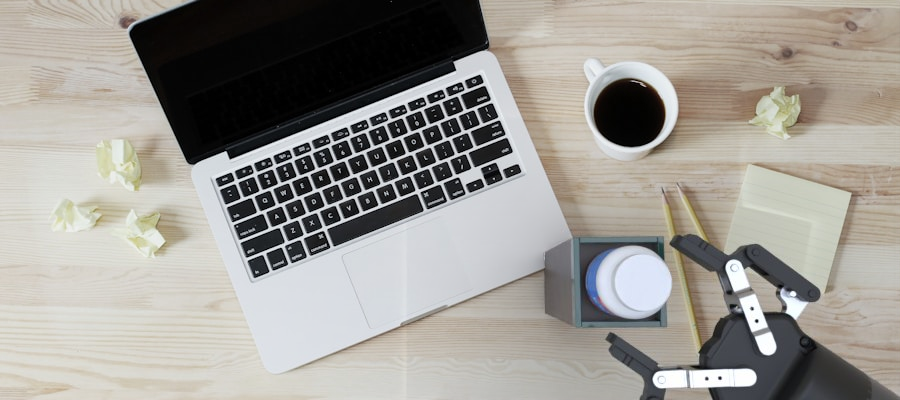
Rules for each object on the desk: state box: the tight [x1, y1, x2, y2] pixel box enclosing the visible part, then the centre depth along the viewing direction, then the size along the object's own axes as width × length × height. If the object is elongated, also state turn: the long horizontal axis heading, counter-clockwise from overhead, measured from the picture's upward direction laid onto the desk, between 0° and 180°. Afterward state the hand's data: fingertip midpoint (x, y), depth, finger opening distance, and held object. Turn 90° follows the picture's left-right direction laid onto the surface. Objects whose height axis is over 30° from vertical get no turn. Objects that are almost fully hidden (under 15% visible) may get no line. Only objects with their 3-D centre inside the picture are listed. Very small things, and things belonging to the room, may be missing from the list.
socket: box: [570, 235, 668, 329], centre depth 60 cm, size 7×7×2 cm
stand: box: [543, 238, 655, 327], centre depth 74 cm, size 7×7×27 cm
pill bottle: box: [584, 246, 673, 319], centre depth 56 cm, size 6×5×10 cm
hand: (641, 287), depth 54 cm, fingers open, 8 cm apart
